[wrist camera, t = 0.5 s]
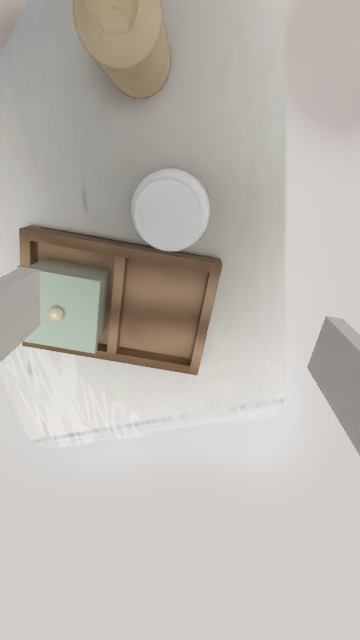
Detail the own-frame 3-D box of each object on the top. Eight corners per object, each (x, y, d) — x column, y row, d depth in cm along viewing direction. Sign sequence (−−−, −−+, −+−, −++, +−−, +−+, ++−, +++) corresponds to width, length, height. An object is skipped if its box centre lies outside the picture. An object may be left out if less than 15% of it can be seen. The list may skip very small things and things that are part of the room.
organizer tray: (31, 225, 34) (19, 228, 31) (220, 259, 34) (222, 264, 32) (32, 335, 39) (22, 345, 37) (197, 363, 39) (197, 375, 37)
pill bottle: (171, 249, 34) (161, 277, 24) (132, 199, 32) (103, 208, 22) (219, 210, 32) (230, 223, 22) (180, 156, 31) (173, 143, 20)
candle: (108, 97, 29) (67, 58, 20) (106, 17, 27) (60, -68, 18) (169, 101, 29) (157, 63, 20) (172, 22, 27) (160, -62, 18)
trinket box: (41, 254, 34) (10, 270, 28) (113, 267, 34) (96, 285, 29) (41, 320, 37) (13, 346, 31) (107, 331, 37) (91, 359, 32)
